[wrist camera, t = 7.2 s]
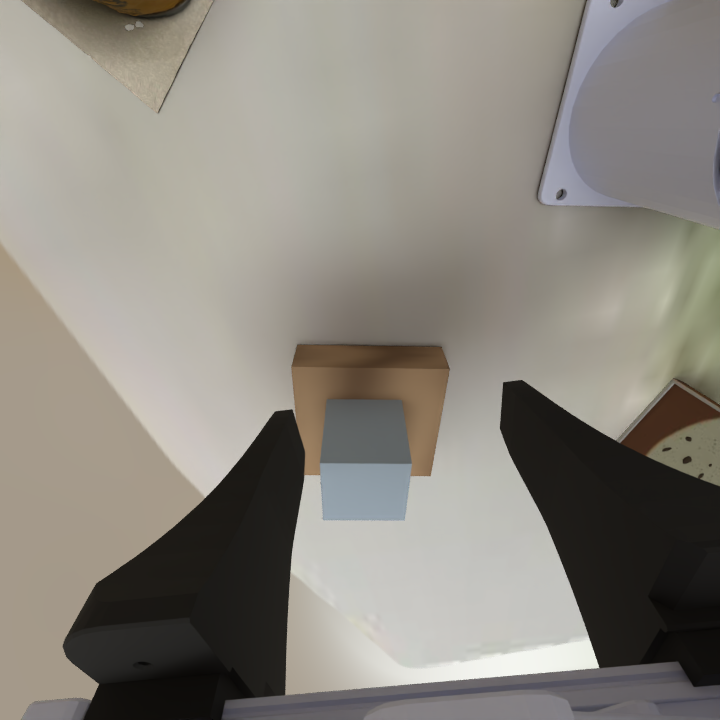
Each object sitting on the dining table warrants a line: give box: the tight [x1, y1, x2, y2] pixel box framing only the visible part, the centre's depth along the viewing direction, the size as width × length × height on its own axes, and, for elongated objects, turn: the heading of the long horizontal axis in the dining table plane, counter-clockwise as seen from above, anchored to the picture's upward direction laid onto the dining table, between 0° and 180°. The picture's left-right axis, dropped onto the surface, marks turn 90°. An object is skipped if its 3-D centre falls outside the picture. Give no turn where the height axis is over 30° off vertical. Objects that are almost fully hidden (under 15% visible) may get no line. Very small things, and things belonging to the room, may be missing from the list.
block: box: [320, 399, 412, 520], centre depth 22 cm, size 4×4×5 cm
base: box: [291, 345, 450, 476], centre depth 25 cm, size 9×9×2 cm
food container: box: [616, 378, 720, 486], centre depth 24 cm, size 12×6×10 cm, turn 163°
